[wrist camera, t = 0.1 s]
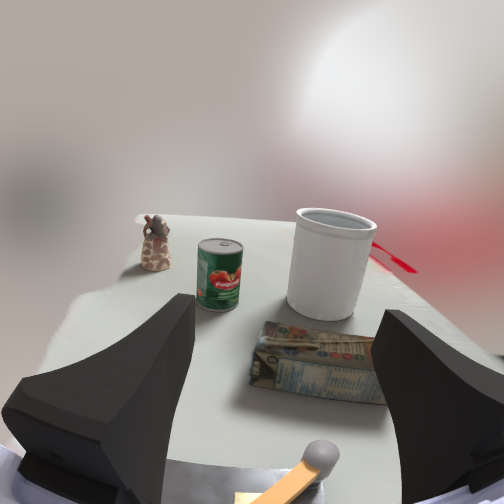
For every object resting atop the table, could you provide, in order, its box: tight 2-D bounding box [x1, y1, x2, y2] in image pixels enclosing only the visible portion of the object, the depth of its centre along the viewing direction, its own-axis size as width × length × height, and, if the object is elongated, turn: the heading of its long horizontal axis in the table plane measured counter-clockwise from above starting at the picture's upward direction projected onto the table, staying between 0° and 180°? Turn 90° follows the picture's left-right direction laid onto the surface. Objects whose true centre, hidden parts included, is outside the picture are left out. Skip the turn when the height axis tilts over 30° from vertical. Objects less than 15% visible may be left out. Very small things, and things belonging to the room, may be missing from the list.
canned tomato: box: [196, 238, 243, 312], centre depth 55 cm, size 8×8×11 cm
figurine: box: [141, 215, 171, 271], centre depth 67 cm, size 7×7×12 cm
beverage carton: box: [249, 321, 387, 405], centre depth 37 cm, size 8×19×7 cm, turn 77°
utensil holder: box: [287, 208, 377, 321], centre depth 56 cm, size 15×15×18 cm
